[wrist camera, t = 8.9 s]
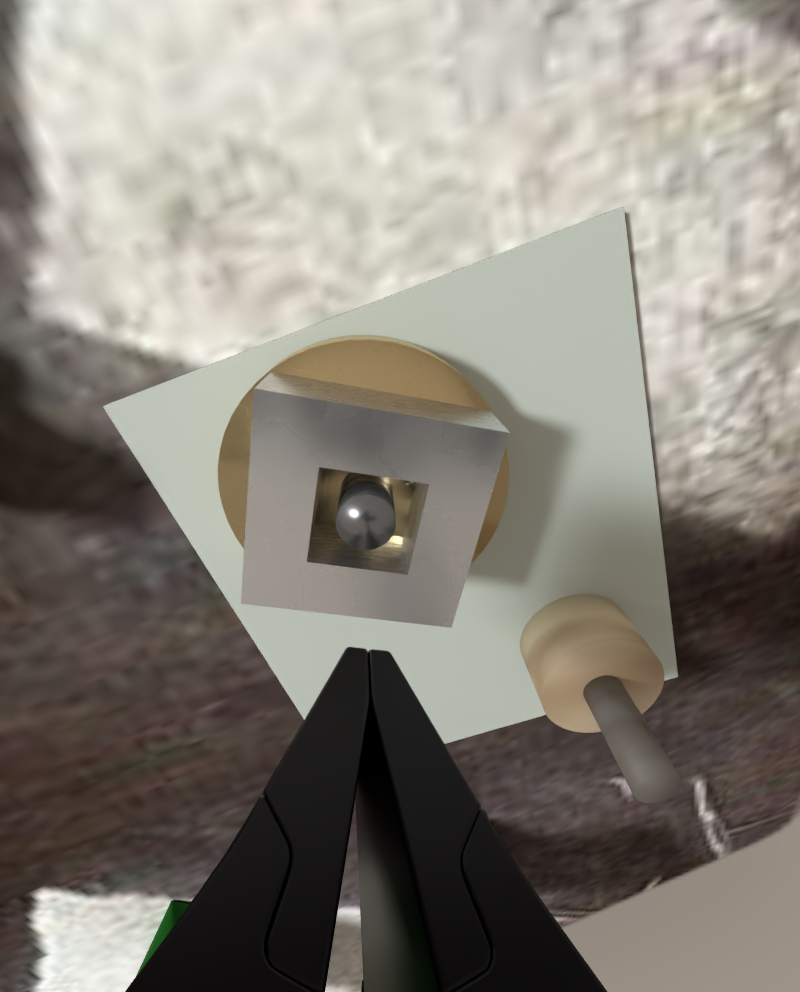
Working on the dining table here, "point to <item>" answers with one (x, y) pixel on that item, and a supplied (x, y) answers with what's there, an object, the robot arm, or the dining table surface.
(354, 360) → the bell
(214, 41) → the dining table surface
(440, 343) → the mat
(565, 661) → the stand
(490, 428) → the square ring
